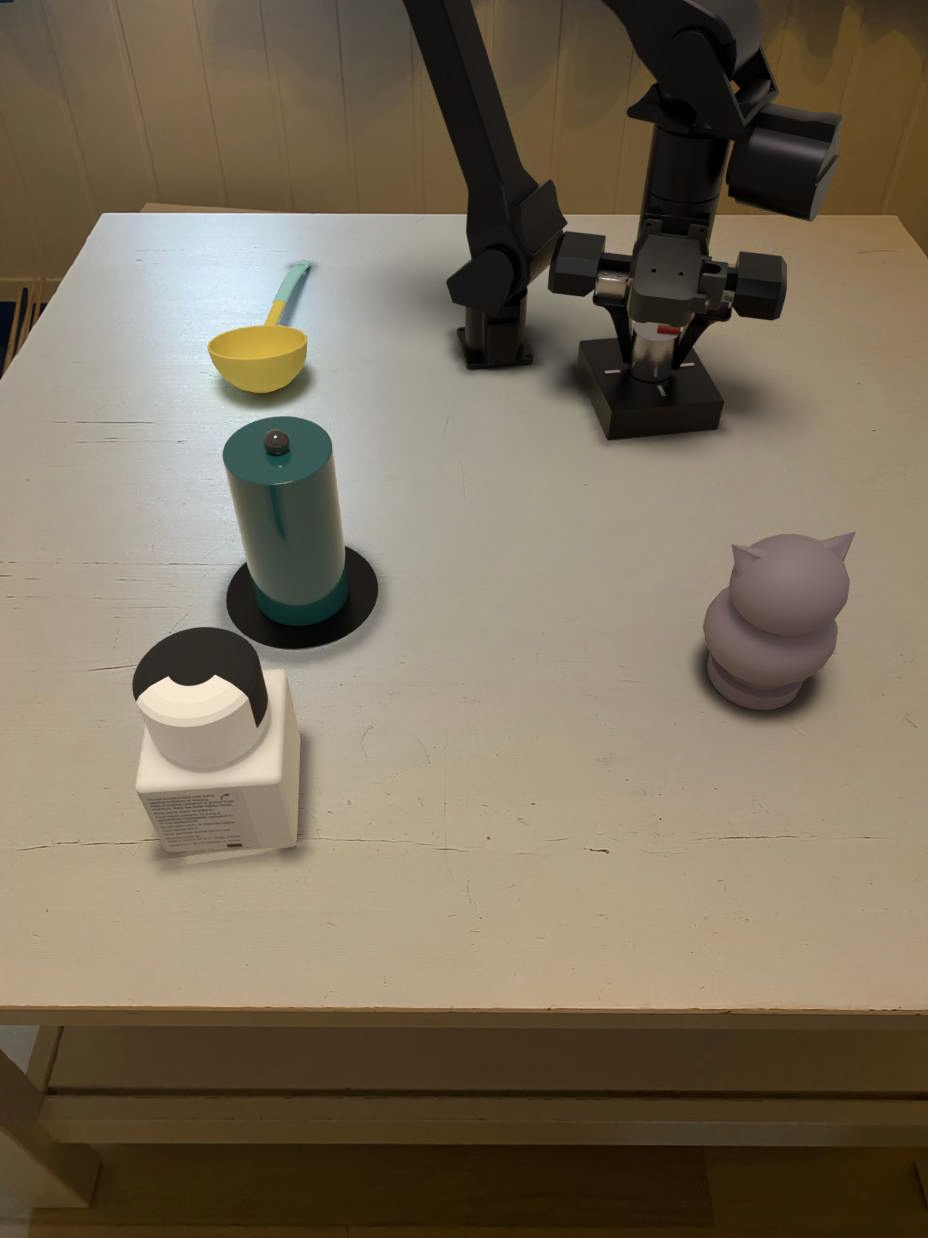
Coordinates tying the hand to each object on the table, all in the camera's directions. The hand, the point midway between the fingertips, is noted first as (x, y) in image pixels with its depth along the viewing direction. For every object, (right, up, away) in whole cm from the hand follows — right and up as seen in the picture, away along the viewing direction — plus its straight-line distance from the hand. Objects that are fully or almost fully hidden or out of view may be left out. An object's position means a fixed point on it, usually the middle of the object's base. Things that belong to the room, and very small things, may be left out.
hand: (650, 364), depth 83 cm
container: (-30, -34, -25) cm, 52 cm away
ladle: (-34, +6, +9) cm, 36 cm away
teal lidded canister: (-28, -20, -15) cm, 38 cm away
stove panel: (0, -2, +3) cm, 4 cm away
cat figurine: (+3, -26, -18) cm, 32 cm away
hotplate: (-28, -21, -14) cm, 38 cm away
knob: (0, 0, 0) cm, 0 cm away
